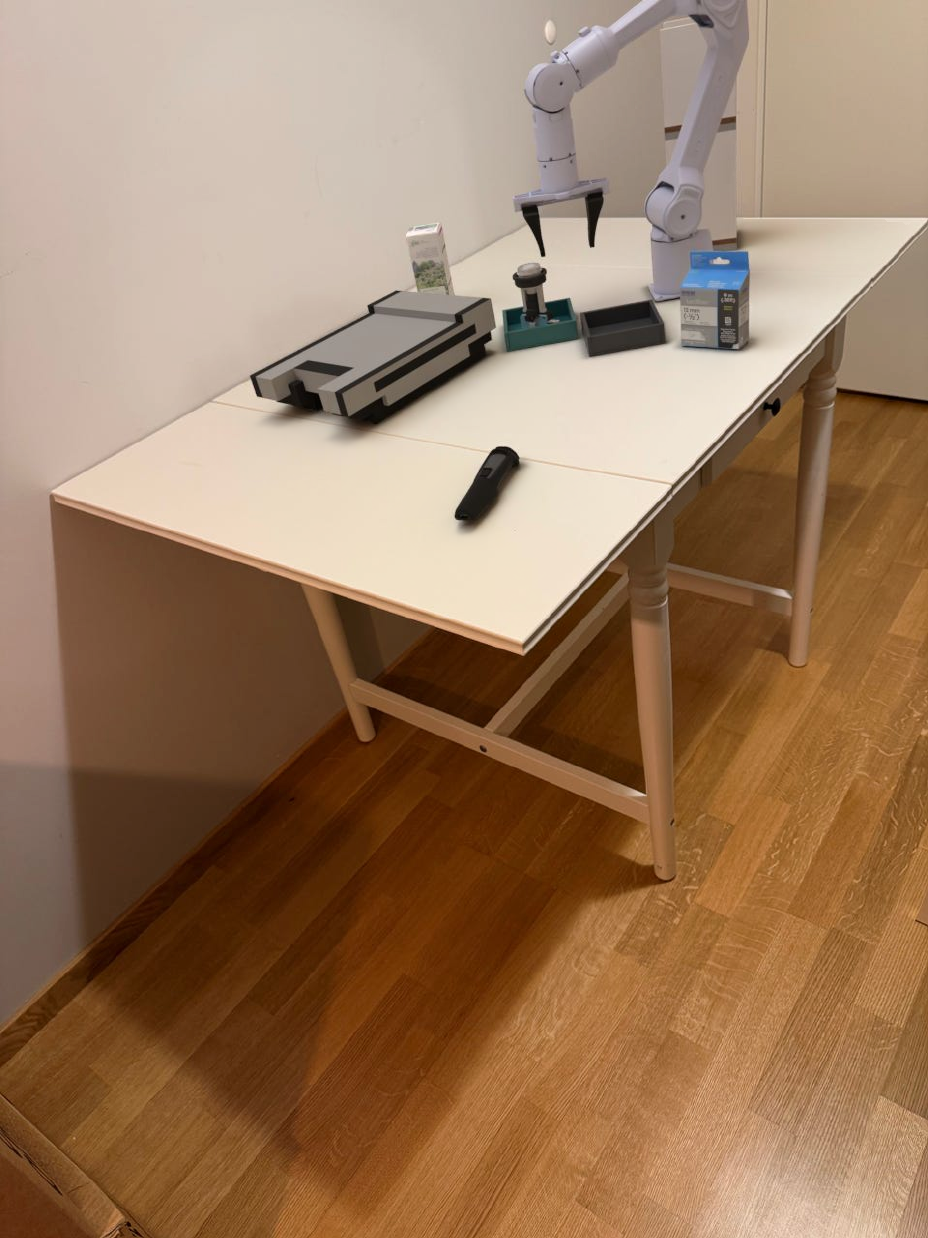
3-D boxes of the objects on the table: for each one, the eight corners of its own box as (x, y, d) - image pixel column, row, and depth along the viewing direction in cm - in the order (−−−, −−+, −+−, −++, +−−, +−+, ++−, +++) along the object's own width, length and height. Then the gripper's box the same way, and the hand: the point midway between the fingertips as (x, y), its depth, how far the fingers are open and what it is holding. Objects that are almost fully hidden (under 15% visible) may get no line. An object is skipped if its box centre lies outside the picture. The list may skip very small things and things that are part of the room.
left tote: (572, 314, 149) (570, 297, 147) (578, 338, 140) (576, 320, 138) (504, 327, 150) (502, 309, 148) (507, 351, 141) (504, 333, 140)
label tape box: (680, 346, 130) (676, 259, 123) (692, 335, 132) (689, 249, 125) (738, 351, 125) (738, 260, 118) (750, 339, 127) (750, 249, 120)
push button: (567, 324, 145) (559, 260, 139) (551, 337, 141) (542, 272, 136) (531, 322, 148) (522, 260, 142) (515, 335, 145) (505, 272, 139)
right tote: (653, 317, 141) (652, 299, 139) (665, 342, 132) (664, 323, 130) (581, 330, 142) (579, 312, 141) (589, 356, 133) (587, 337, 132)
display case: (736, 231, 168) (735, 8, 147) (736, 249, 160) (735, 15, 139) (673, 239, 171) (663, 22, 150) (670, 257, 163) (659, 30, 142)
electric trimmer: (448, 531, 101) (442, 507, 99) (494, 462, 112) (490, 439, 110) (479, 533, 100) (474, 508, 98) (523, 462, 111) (519, 439, 109)
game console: (264, 418, 138) (247, 367, 133) (407, 338, 155) (396, 290, 150) (355, 440, 125) (339, 385, 120) (500, 350, 142) (491, 298, 137)
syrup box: (457, 303, 165) (441, 220, 156) (453, 314, 160) (437, 229, 152) (426, 308, 166) (409, 225, 157) (422, 319, 161) (404, 235, 153)
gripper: (509, 171, 132) (522, 266, 140) (608, 151, 130) (616, 248, 138) (507, 162, 138) (520, 253, 146) (603, 142, 136) (611, 236, 144)
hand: (567, 250), depth 142 cm, fingers open, 7 cm apart
